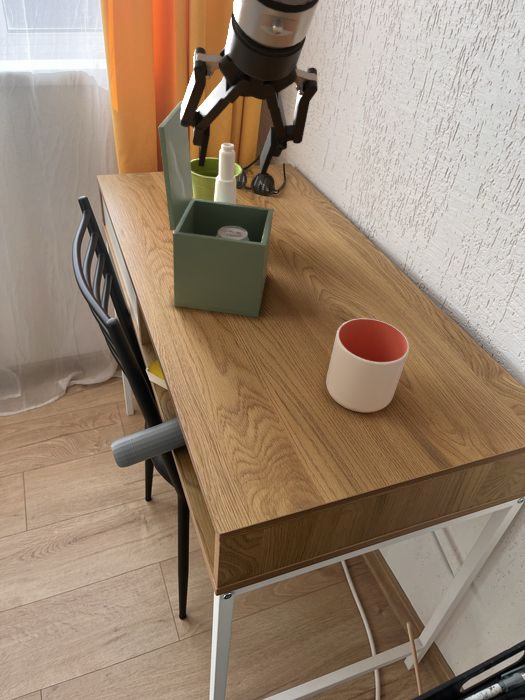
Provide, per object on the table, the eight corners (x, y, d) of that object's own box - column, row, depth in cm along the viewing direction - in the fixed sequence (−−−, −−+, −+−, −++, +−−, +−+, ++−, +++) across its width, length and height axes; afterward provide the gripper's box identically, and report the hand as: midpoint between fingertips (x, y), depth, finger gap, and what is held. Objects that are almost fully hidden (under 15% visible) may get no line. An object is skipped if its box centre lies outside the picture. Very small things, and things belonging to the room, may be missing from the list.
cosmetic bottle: (202, 260, 103) (204, 146, 89) (213, 246, 108) (218, 136, 94) (231, 267, 102) (238, 153, 88) (241, 253, 107) (250, 143, 93)
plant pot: (243, 228, 115) (247, 178, 108) (189, 229, 112) (189, 178, 105) (233, 204, 124) (236, 157, 117) (183, 205, 121) (183, 156, 114)
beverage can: (213, 284, 95) (216, 223, 88) (245, 286, 96) (250, 226, 88) (211, 302, 91) (214, 239, 83) (244, 304, 91) (249, 242, 84)
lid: (185, 100, 82) (180, 100, 82) (163, 127, 72) (158, 126, 72) (193, 195, 92) (188, 195, 92) (175, 230, 81) (170, 230, 81)
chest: (265, 276, 101) (273, 208, 92) (258, 317, 90) (265, 245, 81) (190, 266, 101) (191, 198, 92) (174, 306, 90) (172, 233, 82)
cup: (392, 377, 81) (410, 326, 75) (390, 423, 74) (409, 370, 67) (329, 363, 82) (341, 311, 76) (320, 407, 75) (332, 354, 68)
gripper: (159, 31, 48) (154, 175, 69) (372, 71, 52) (305, 195, 73) (164, -32, 50) (157, 127, 71) (368, 11, 54) (304, 149, 75)
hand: (232, 161), depth 72 cm, fingers open, 8 cm apart
